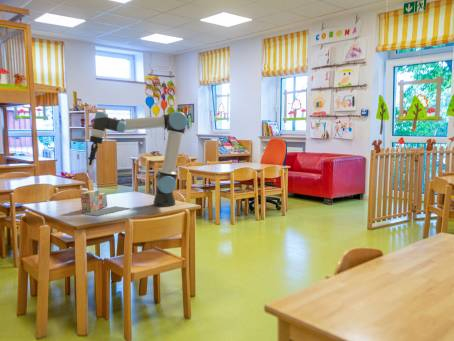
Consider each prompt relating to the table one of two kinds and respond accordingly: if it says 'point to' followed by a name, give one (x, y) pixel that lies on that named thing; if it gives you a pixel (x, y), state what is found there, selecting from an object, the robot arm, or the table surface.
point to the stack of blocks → (93, 200)
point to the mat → (106, 211)
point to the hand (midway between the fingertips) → (89, 169)
